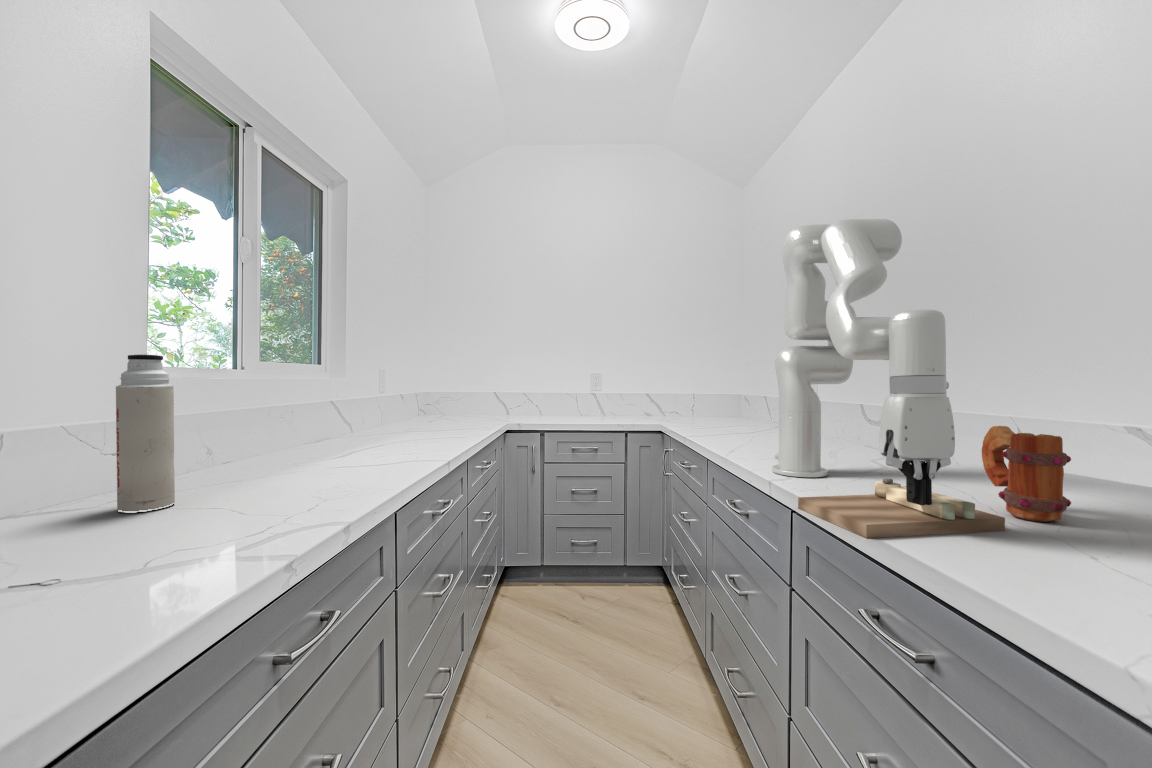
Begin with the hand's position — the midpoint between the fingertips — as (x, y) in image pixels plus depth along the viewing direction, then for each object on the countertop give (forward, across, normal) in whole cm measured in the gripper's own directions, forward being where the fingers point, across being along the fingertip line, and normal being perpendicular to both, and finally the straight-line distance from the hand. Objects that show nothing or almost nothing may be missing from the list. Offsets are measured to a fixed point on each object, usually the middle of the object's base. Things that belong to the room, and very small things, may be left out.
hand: (919, 503), depth 79 cm
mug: (+4, -24, -4) cm, 24 cm away
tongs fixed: (+1, -5, -4) cm, 7 cm away
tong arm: (+1, -4, -5) cm, 6 cm away
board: (+4, 0, -5) cm, 6 cm away
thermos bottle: (+4, +130, -31) cm, 134 cm away
